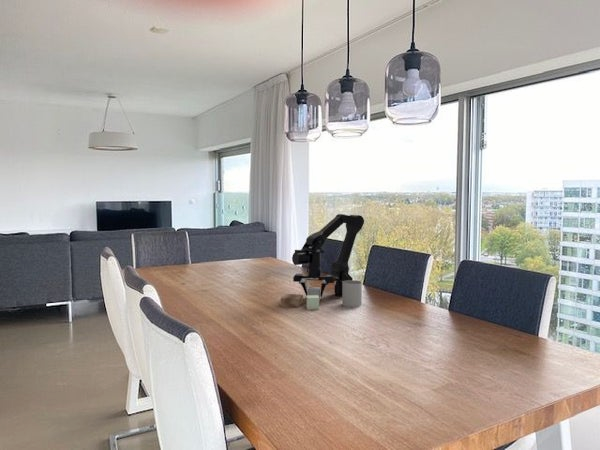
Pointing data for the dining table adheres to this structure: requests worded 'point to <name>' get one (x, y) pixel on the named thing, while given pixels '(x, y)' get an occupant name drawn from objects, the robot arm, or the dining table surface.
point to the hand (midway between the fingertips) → (314, 296)
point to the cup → (352, 293)
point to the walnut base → (291, 300)
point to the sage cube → (312, 302)
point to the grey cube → (314, 291)
